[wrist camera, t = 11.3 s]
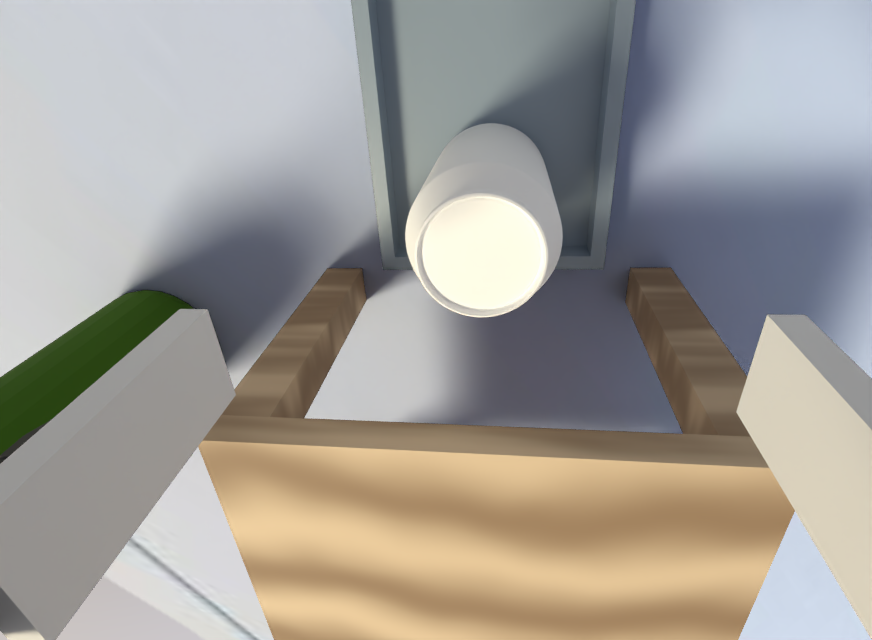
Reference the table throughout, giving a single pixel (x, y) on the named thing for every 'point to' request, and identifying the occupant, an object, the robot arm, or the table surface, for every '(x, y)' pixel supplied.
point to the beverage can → (485, 223)
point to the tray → (495, 100)
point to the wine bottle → (78, 361)
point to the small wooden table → (497, 500)
